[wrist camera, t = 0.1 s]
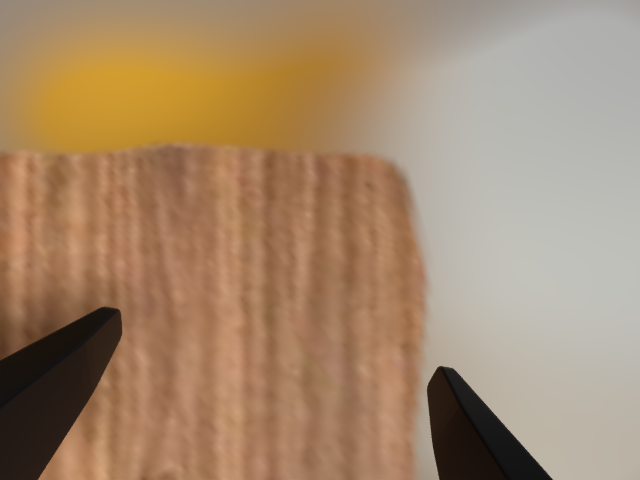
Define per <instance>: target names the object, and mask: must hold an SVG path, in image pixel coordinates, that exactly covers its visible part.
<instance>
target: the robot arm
mask: <svg viewBox="0 0 640 480" xmlns="http://www.w3.org/2000/svg"><path fill="white" fill-rule="evenodd" d="M121 336H122V322H121V313H120V310H119V309H116V308H110V307H101V308H99V309H97V310H95V311H93V312H91V313H89V314H87V315H86V316H84V317H82V318H80V319H78V320H76V321H74V322H72V323H70V324H68V325H67V326H65V327H63V328H61V329H59V330H57V331H55V332H53V333H51V334H49V335H48V336H46V337H44V338H42V339H40V340H38V341H36V342H34V343H32V344H31V345H29V346H27V347H25V348H23V349H21V350H19V351H17V352H15V353H13V354H12V355H10V356H8V357H6V358H4V359H2V360H0V480H38V479H39V477H40V475H41V474H42V472H43V471H44V469H45V468H46V466H47V464H48V463H49V461H50V460H51V458H52V457H53V455H54V454H55V452H56V450H57V449H58V447H59V446H60V444H61V443H62V441H63V440H64V438H65V436H66V435H67V433H68V432H69V430H70V429H71V427H72V426H73V424H74V422H75V421H76V419H77V418H78V416H79V415H80V413H81V411H82V410H83V408H84V407H85V405H86V404H87V402H88V400H89V399H90V397H91V396H92V394H93V392H94V390H95V388H96V387H97V385H98V383H99V381H100V379H101V377H102V375H103V373H104V371H105V369H106V367H107V365H108V363H109V361H110V359H111V357H112V355H113V353H114V351H115V349H116V347H117V345H118V343H119V341H120V339H121ZM427 396H428V406H429V416H430V425H431V435H432V443H433V450H434V455H435V460H436V465H437V469H438V475H439V479H440V480H553V479H552V478H551V477H550V476H549V475H548V474H547V472H546V471H545V470H544V469H543V468H542V467H541V466H540V465H539V463H538V462H537V461H536V460H535V459H534V458H533V457H532V456H531V455H530V453H529V452H528V451H527V450H526V449H525V448H524V447H523V446H522V445H521V443H520V442H519V441H518V440H517V439H516V438H515V437H514V435H513V434H512V433H511V432H510V431H509V430H508V429H507V428H506V427H505V425H504V424H503V423H502V422H501V421H500V420H499V419H498V418H497V416H496V415H495V414H494V413H493V412H492V411H491V410H490V409H489V407H488V406H487V405H486V404H485V403H484V402H483V401H482V400H481V399H480V397H479V396H478V395H477V394H476V393H475V392H474V391H473V390H472V389H471V387H470V386H469V385H468V384H467V383H466V382H465V381H464V380H463V378H462V377H461V376H460V375H459V374H458V373H457V372H456V371H455V370H454V369H453V368H449V367H443V366H439V367H438V368H437V369H436V371H435V373H434V374H433V376H432V378H431V380H430V382H429V383H428V387H427Z"/></svg>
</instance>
